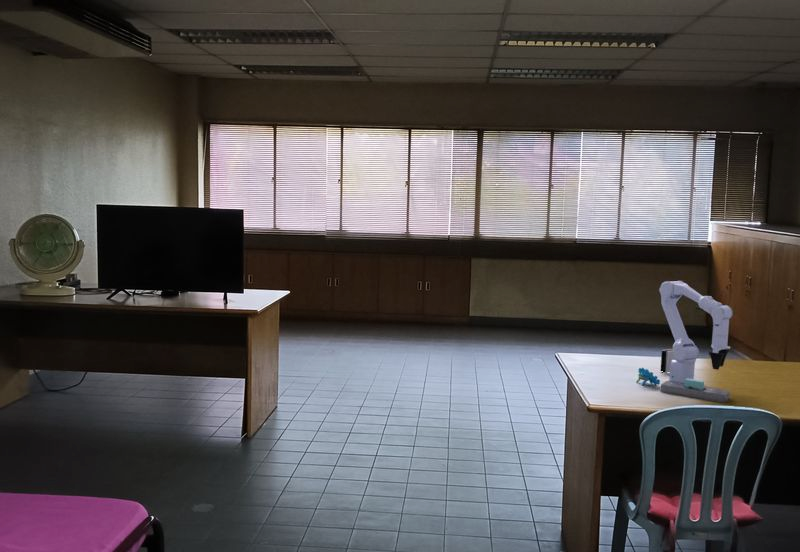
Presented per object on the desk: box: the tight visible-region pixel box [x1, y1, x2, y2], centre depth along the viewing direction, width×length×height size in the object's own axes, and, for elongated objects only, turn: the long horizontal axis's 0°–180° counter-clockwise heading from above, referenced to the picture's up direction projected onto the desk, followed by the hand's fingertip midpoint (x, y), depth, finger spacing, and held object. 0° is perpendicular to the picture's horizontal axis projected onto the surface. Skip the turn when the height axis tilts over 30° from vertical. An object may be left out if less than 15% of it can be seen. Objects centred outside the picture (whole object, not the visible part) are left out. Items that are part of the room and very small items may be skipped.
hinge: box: [660, 348, 676, 373], centre depth 315 cm, size 14×5×10 cm, turn 135°
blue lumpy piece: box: [635, 367, 661, 386], centre depth 287 cm, size 11×6×10 cm
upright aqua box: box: [684, 378, 705, 390], centre depth 273 cm, size 6×3×6 cm, turn 53°
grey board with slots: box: [660, 380, 731, 404], centre depth 273 cm, size 24×8×3 cm, turn 54°
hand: (717, 367), depth 281 cm, fingers open, 7 cm apart
